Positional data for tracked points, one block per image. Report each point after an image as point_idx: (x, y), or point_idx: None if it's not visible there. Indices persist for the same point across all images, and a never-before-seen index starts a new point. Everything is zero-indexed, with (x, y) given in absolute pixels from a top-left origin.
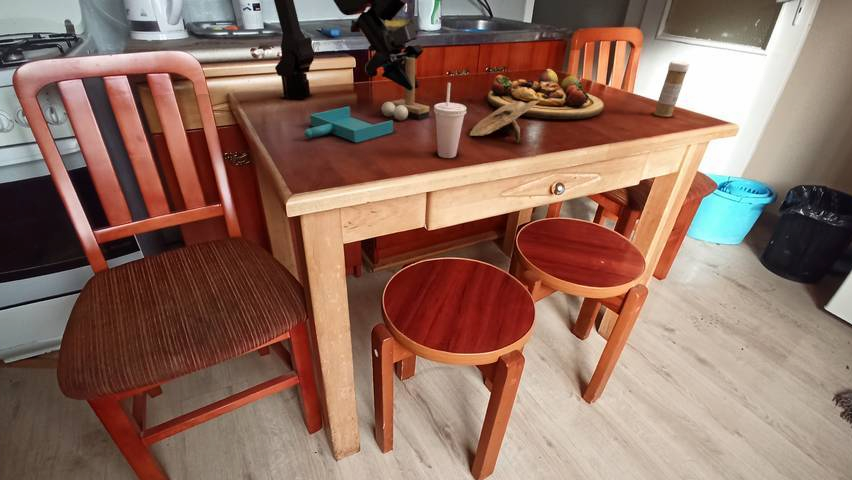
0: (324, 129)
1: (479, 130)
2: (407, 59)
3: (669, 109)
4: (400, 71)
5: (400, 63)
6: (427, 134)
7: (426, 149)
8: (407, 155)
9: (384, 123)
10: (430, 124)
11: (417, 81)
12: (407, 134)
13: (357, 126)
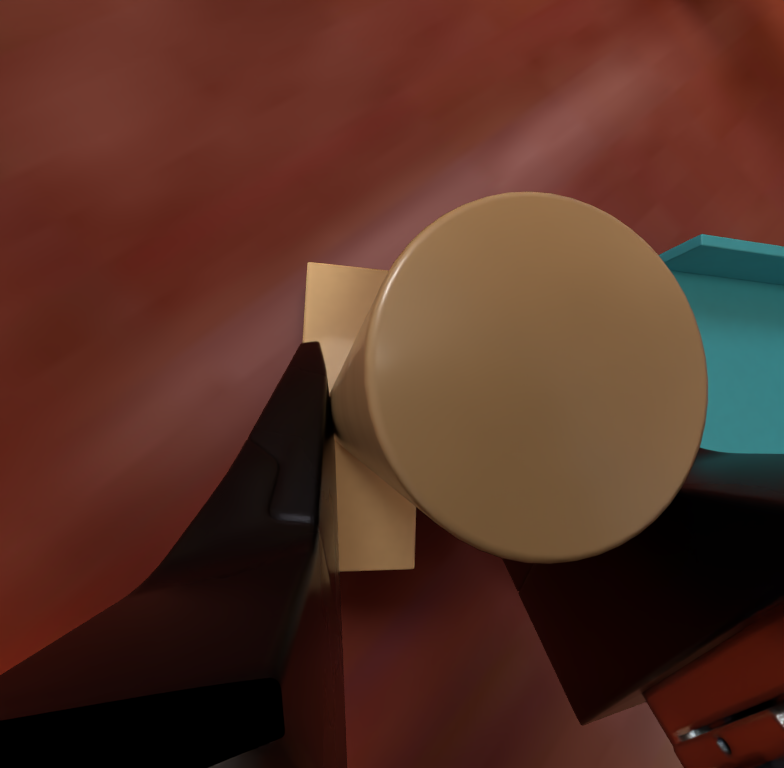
0: None
1: None
2: (690, 366)
3: None
4: None
5: (748, 473)
6: (551, 120)
7: (683, 28)
8: (769, 53)
9: (750, 243)
10: (418, 197)
11: (292, 365)
12: (618, 192)
13: (726, 438)
